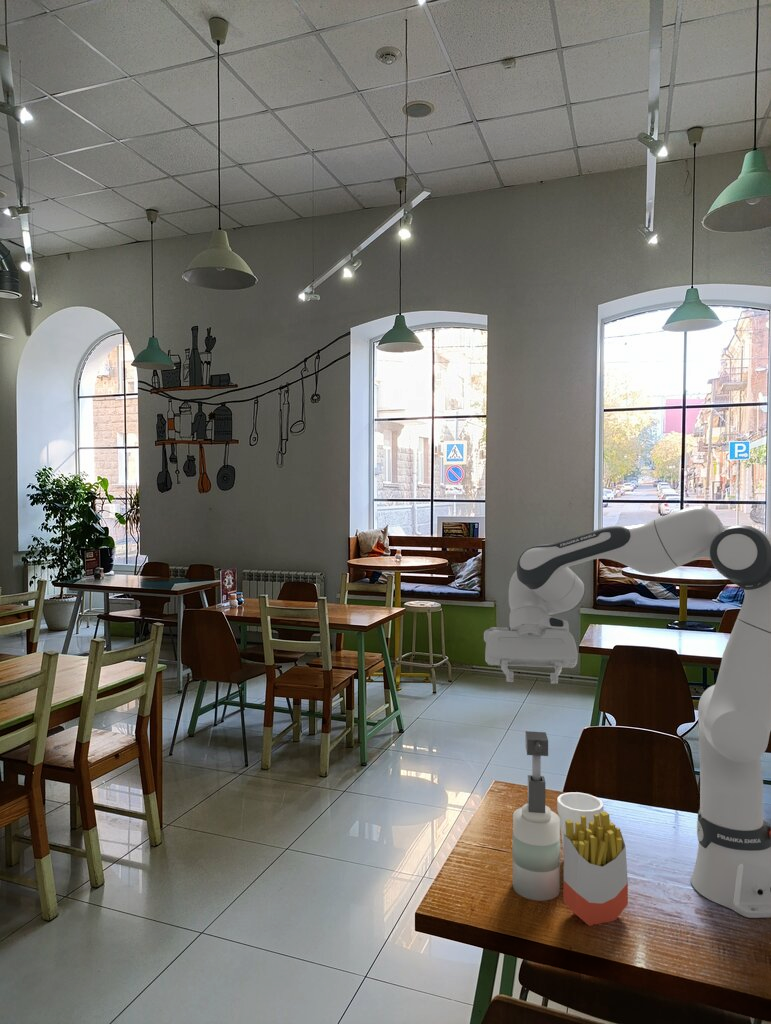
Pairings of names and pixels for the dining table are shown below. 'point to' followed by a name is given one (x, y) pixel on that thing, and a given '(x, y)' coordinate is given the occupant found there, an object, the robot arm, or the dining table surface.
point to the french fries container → (595, 870)
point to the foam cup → (577, 809)
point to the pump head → (536, 751)
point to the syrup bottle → (536, 846)
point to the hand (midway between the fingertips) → (532, 681)
